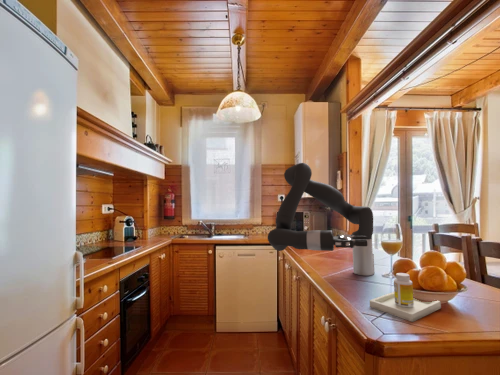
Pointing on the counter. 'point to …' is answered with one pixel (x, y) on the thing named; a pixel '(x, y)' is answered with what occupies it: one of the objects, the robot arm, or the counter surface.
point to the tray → (410, 314)
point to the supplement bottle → (403, 290)
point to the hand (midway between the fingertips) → (366, 241)
